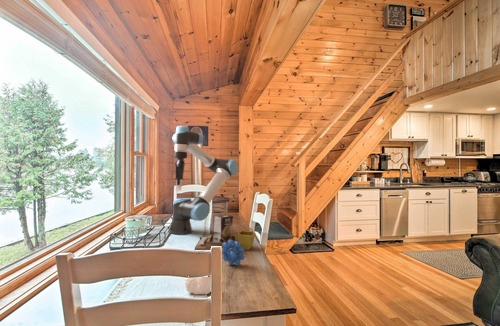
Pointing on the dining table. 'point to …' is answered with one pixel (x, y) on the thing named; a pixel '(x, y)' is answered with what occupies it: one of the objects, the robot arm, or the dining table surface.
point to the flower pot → (246, 239)
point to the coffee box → (222, 228)
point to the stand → (211, 243)
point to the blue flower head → (232, 252)
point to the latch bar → (202, 240)
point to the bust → (198, 285)
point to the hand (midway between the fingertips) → (178, 190)
